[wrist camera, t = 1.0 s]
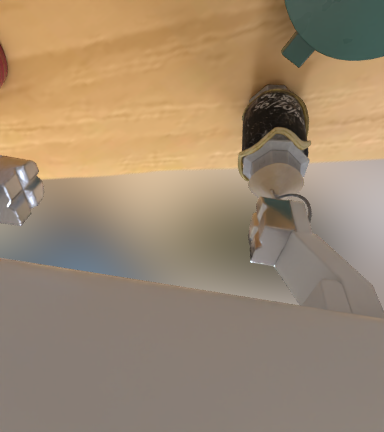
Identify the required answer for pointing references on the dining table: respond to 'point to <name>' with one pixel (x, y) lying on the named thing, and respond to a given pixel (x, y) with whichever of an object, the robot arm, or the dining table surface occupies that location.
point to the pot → (297, 50)
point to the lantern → (275, 144)
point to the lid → (340, 27)
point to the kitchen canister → (2, 67)
